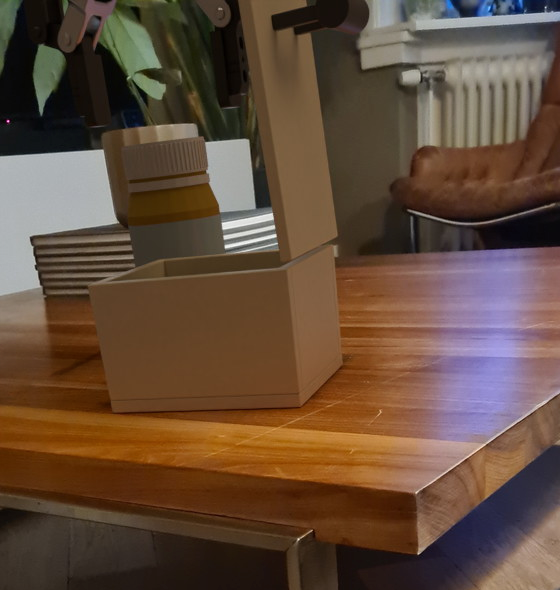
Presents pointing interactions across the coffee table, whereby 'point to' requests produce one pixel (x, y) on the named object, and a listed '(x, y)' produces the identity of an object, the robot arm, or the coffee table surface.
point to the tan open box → (219, 331)
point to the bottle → (171, 201)
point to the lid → (294, 112)
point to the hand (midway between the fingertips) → (163, 117)
